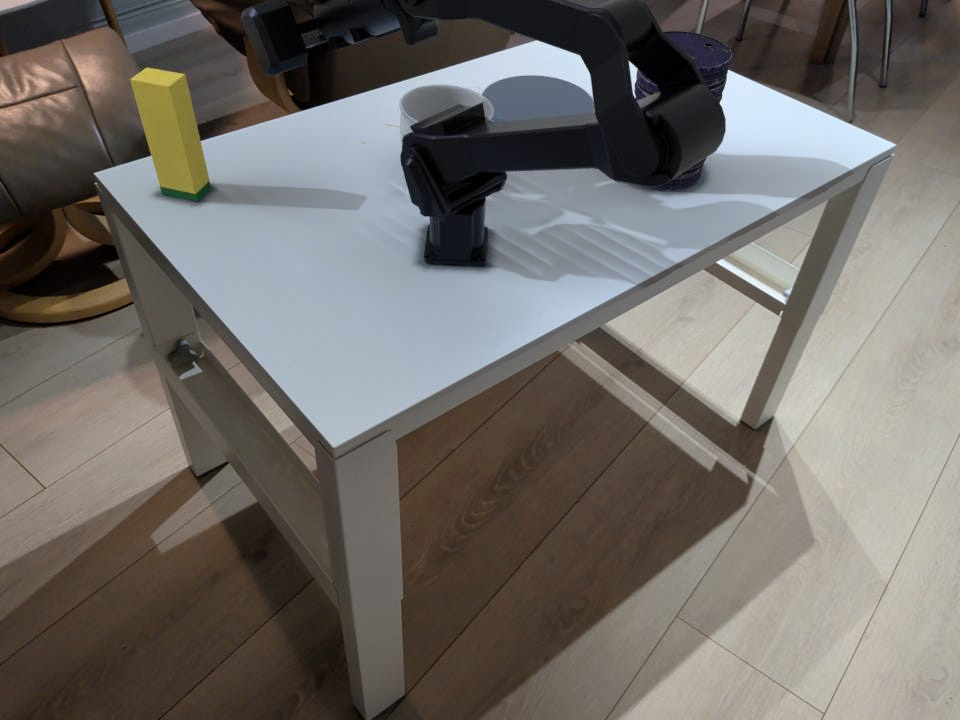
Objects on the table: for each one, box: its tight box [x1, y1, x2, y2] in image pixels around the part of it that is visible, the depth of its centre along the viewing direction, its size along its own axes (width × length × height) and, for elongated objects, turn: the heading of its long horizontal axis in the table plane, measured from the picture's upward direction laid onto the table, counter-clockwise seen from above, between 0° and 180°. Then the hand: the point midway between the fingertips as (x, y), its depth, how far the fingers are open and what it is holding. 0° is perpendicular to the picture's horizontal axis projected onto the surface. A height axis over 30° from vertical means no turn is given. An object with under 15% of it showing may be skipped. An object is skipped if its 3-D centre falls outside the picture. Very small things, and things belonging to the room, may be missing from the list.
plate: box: [481, 74, 594, 123], centre depth 107 cm, size 15×15×1 cm
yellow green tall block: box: [129, 67, 212, 202], centre depth 86 cm, size 3×4×14 cm, turn 74°
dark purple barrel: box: [633, 30, 733, 192], centre depth 92 cm, size 10×10×15 cm
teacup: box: [398, 84, 494, 147], centre depth 93 cm, size 14×11×8 cm
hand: (295, 35), depth 86 cm, fingers open, 9 cm apart
